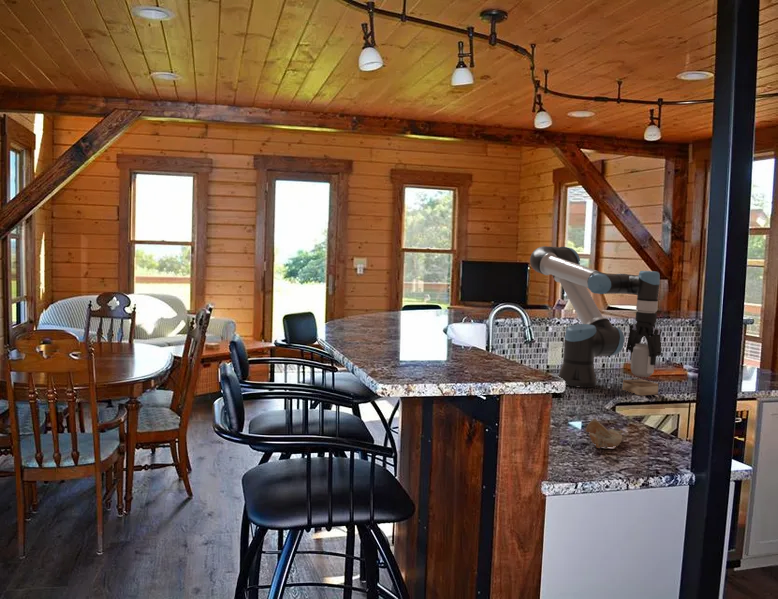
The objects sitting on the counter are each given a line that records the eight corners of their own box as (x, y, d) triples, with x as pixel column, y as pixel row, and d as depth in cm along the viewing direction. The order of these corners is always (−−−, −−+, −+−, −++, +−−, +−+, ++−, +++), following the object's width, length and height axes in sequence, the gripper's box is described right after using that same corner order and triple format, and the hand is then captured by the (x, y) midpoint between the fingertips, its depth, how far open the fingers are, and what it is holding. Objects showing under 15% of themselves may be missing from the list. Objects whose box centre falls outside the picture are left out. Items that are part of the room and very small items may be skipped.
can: (648, 374, 273) (651, 343, 272) (654, 377, 265) (656, 346, 264) (629, 372, 274) (631, 342, 272) (633, 376, 266) (636, 345, 265)
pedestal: (622, 390, 272) (623, 380, 272) (639, 388, 276) (640, 378, 276) (640, 395, 264) (641, 385, 264) (657, 394, 268) (658, 383, 268)
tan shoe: (576, 451, 190) (579, 415, 189) (604, 435, 207) (606, 402, 206) (607, 459, 185) (610, 421, 184) (633, 442, 202) (636, 407, 201)
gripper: (675, 314, 260) (670, 375, 262) (633, 308, 278) (628, 365, 280) (660, 315, 256) (655, 377, 259) (619, 308, 275) (614, 366, 277)
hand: (641, 371), depth 269 cm, fingers closed on can, 7 cm apart
